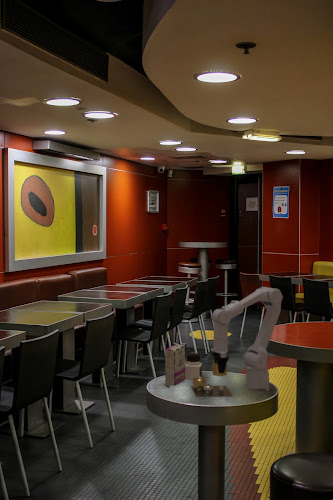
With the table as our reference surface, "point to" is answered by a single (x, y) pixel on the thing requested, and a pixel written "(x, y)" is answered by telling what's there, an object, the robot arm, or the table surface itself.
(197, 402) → the table surface
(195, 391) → the plate
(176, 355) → the candy bar box
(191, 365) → the medicine bottle
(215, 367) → the gear
